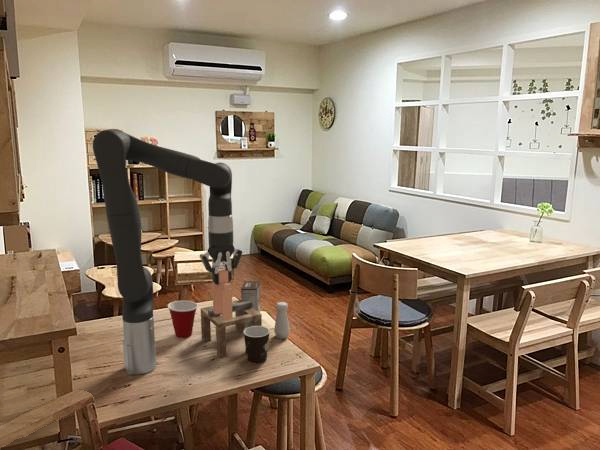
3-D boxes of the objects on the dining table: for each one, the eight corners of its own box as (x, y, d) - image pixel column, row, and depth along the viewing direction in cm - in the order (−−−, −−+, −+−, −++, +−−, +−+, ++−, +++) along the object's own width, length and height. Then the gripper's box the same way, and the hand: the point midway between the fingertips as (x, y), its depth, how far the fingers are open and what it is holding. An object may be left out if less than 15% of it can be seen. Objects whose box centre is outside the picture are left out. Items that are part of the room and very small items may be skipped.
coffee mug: (258, 350, 171) (258, 323, 169) (275, 359, 165) (275, 331, 163) (231, 362, 163) (230, 333, 161) (247, 371, 157) (247, 342, 155)
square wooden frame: (219, 357, 166) (218, 318, 163) (201, 339, 179) (200, 303, 176) (261, 346, 175) (261, 308, 172) (241, 329, 188) (241, 294, 185)
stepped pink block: (223, 321, 153) (222, 274, 150) (213, 312, 159) (212, 267, 156) (232, 319, 154) (231, 273, 151) (222, 310, 161) (220, 266, 158)
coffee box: (244, 318, 198) (244, 280, 194) (260, 318, 198) (260, 280, 194) (241, 328, 189) (241, 288, 185) (258, 328, 189) (258, 288, 185)
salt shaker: (281, 331, 186) (281, 299, 184) (293, 336, 183) (293, 302, 180) (270, 336, 182) (270, 303, 179) (282, 341, 178) (282, 307, 176)
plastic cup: (204, 336, 182) (202, 306, 179) (175, 344, 176) (173, 312, 173) (192, 326, 190) (191, 296, 188) (165, 333, 184) (163, 302, 182)
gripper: (203, 234, 144) (205, 290, 148) (247, 229, 151) (247, 282, 155) (194, 229, 150) (196, 283, 154) (236, 224, 158) (237, 276, 161)
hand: (222, 282), depth 155 cm, fingers closed on stepped pink block, 3 cm apart
